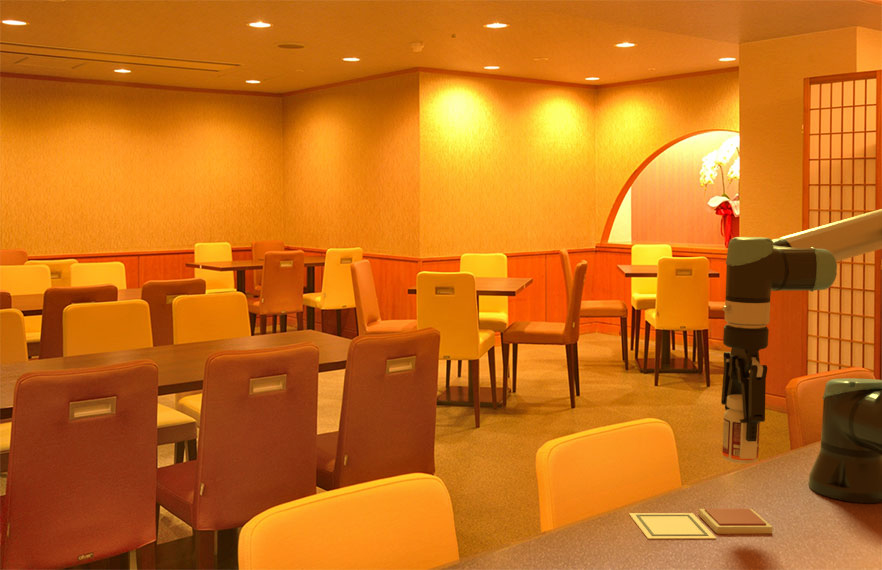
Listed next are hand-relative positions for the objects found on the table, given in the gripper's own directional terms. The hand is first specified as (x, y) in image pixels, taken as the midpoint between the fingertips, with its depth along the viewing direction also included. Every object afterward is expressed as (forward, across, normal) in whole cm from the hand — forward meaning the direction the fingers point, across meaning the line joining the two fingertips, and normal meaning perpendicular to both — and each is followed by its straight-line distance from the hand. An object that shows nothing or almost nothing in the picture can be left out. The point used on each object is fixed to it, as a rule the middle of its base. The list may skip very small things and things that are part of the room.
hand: (740, 452), depth 161 cm
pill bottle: (+2, 0, 0) cm, 2 cm away
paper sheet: (+13, +1, -12) cm, 18 cm away
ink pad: (+13, 0, 0) cm, 13 cm away
